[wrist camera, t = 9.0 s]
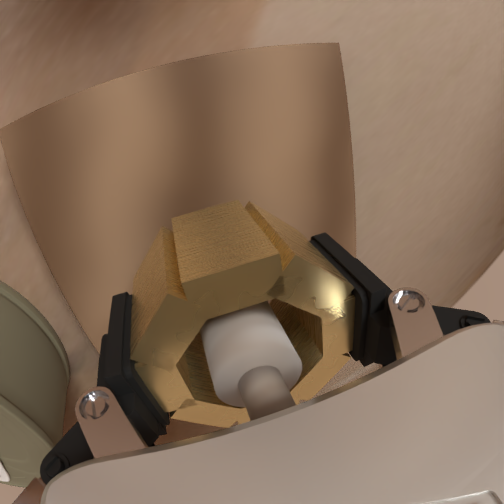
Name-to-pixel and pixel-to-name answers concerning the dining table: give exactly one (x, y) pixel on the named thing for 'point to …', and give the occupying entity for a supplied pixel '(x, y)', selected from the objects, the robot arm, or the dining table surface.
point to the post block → (190, 185)
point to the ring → (233, 305)
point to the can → (28, 388)
